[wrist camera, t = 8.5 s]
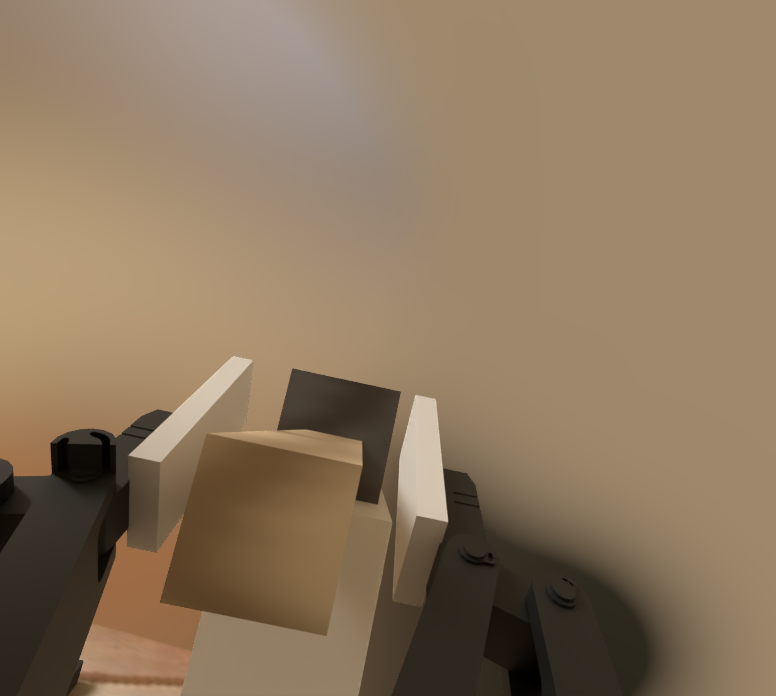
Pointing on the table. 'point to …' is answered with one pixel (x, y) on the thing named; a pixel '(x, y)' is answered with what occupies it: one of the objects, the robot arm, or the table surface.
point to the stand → (299, 632)
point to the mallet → (282, 506)
